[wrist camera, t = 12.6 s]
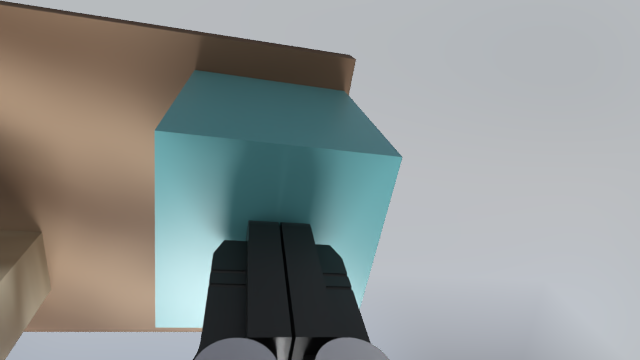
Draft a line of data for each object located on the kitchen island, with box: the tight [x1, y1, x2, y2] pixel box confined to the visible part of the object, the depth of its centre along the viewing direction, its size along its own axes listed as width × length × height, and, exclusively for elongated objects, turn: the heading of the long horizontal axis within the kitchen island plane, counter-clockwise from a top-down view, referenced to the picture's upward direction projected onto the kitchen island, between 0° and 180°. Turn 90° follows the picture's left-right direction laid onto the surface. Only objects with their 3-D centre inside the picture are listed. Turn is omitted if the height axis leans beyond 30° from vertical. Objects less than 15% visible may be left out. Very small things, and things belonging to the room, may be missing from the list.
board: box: [0, 1, 356, 360], centre depth 14 cm, size 14×16×6 cm
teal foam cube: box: [155, 70, 402, 328], centre depth 13 cm, size 6×6×7 cm
